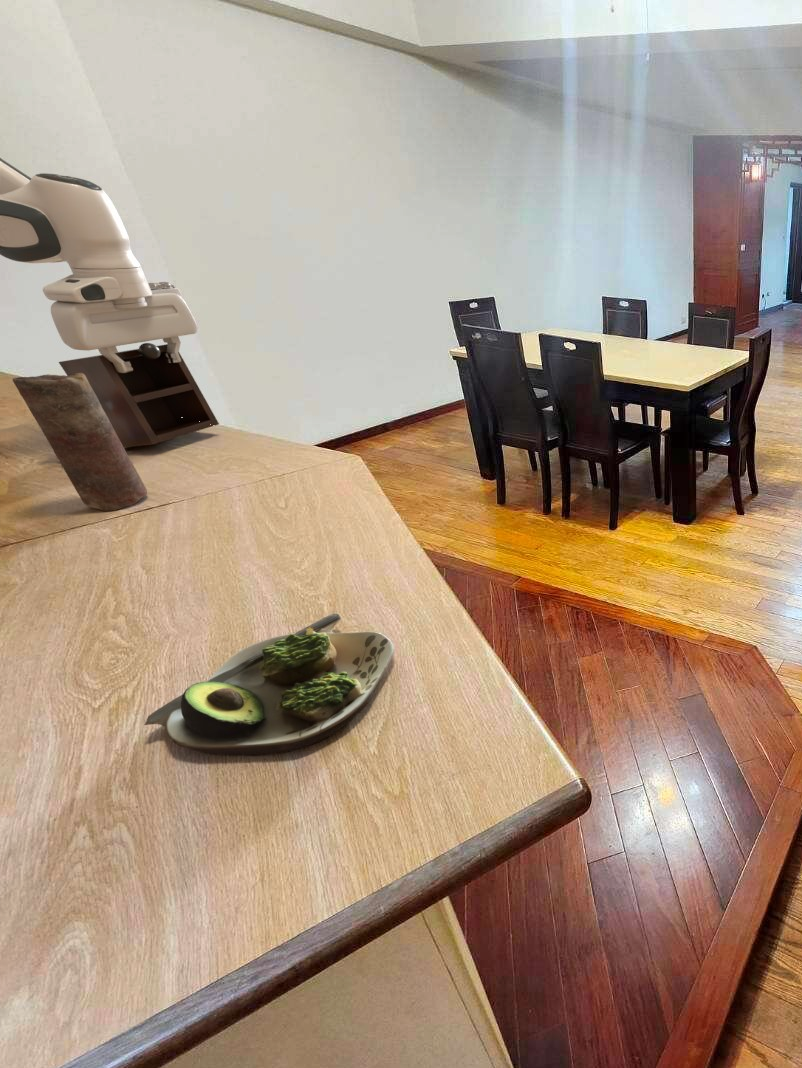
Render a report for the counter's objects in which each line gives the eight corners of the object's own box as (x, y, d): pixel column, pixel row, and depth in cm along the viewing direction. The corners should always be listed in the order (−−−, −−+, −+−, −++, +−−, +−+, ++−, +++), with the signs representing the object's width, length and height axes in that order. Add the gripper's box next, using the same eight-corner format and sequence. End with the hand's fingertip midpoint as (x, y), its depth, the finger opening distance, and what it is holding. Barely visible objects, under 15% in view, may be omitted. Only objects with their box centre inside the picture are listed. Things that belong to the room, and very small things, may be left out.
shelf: (55, 357, 104) (110, 348, 101) (134, 344, 115) (186, 336, 112) (114, 448, 112) (168, 442, 108) (183, 428, 123) (233, 422, 120)
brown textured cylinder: (72, 508, 91) (-4, 377, 81) (125, 490, 97) (61, 366, 87) (110, 515, 89) (38, 382, 80) (161, 496, 96) (100, 371, 86)
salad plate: (267, 626, 68) (252, 593, 66) (426, 626, 69) (417, 594, 67) (125, 760, 51) (98, 722, 49) (338, 757, 52) (322, 720, 50)
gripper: (161, 279, 111) (192, 355, 118) (29, 289, 94) (74, 377, 101) (189, 282, 110) (218, 357, 117) (61, 292, 93) (104, 380, 100)
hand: (150, 367), depth 109 cm, fingers open, 7 cm apart
